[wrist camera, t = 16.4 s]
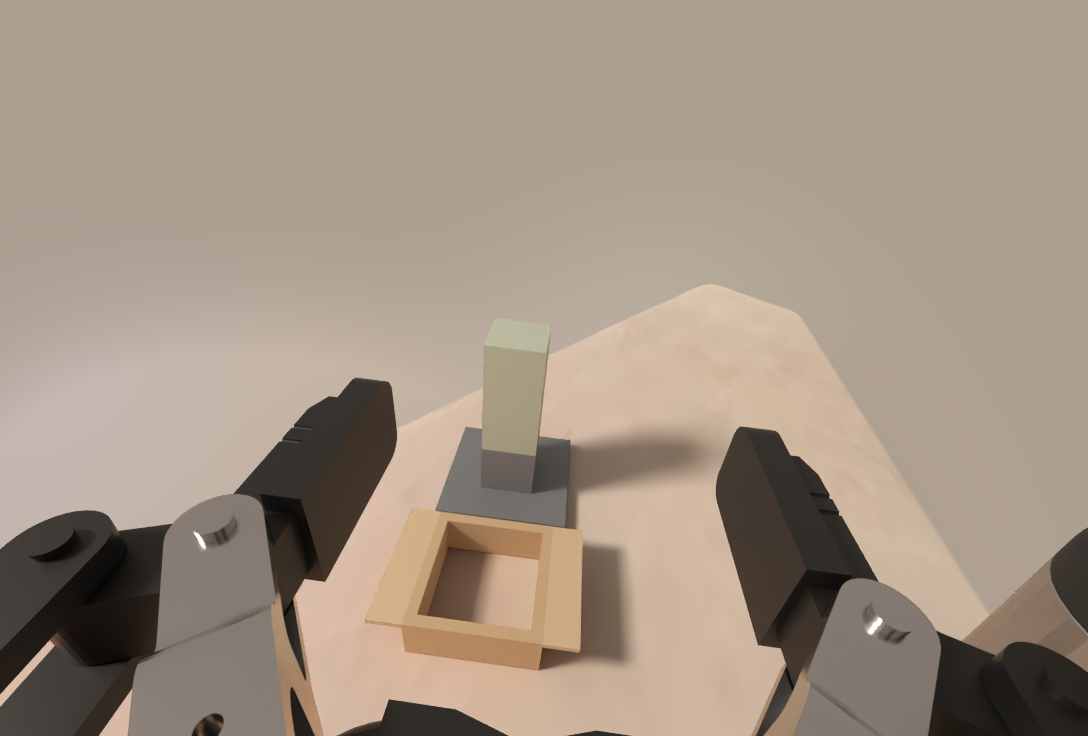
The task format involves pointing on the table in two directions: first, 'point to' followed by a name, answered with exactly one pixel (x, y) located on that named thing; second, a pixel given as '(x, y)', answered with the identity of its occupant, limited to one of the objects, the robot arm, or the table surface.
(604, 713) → the table surface
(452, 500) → the slate mat
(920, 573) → the table surface
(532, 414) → the box
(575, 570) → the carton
